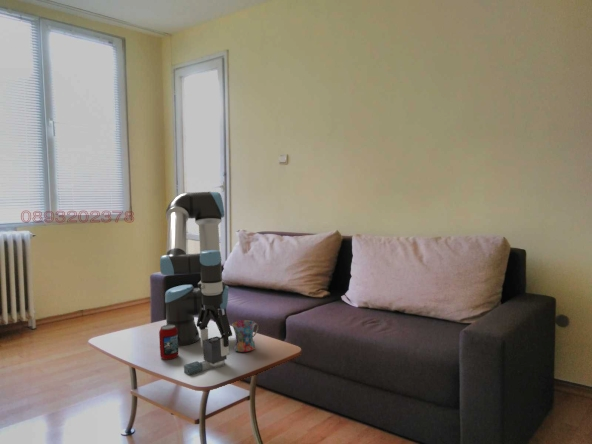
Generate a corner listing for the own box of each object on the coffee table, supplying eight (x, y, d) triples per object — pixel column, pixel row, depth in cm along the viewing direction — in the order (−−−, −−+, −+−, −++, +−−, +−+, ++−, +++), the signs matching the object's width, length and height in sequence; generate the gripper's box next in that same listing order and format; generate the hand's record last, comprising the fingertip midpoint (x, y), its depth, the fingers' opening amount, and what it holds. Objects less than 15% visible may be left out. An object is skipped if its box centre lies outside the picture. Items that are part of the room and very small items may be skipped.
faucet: (182, 371, 158) (181, 351, 158) (218, 359, 169) (217, 340, 168) (191, 376, 153) (190, 356, 153) (228, 364, 163) (227, 345, 163)
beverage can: (168, 361, 168) (167, 330, 168) (156, 358, 172) (155, 327, 171) (182, 355, 174) (180, 325, 173) (170, 353, 178) (168, 323, 177)
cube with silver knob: (212, 363, 159) (211, 342, 159) (203, 359, 164) (202, 339, 163) (226, 359, 163) (225, 338, 163) (217, 355, 168) (216, 335, 167)
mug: (242, 355, 172) (241, 328, 172) (228, 350, 179) (227, 323, 178) (266, 347, 181) (265, 321, 180) (251, 342, 187) (251, 317, 187)
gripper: (185, 290, 169) (188, 345, 170) (222, 300, 150) (224, 362, 152) (203, 286, 174) (205, 340, 175) (240, 296, 155) (243, 356, 157)
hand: (214, 350), depth 163 cm, fingers open, 13 cm apart
